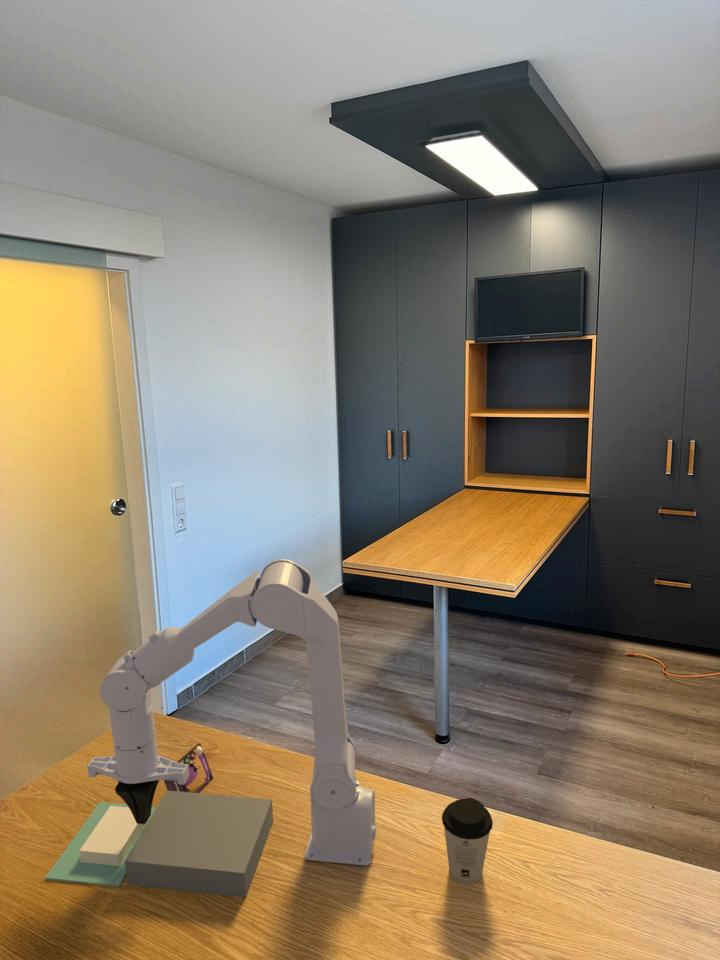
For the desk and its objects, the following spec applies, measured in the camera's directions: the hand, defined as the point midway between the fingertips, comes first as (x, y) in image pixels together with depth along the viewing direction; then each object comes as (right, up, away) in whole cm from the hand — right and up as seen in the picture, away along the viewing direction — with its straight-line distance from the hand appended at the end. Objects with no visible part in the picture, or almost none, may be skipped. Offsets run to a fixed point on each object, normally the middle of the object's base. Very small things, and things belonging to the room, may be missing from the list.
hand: (143, 818), depth 98 cm
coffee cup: (+47, -5, -4) cm, 47 cm away
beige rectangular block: (-5, -2, +1) cm, 6 cm away
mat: (-6, -4, +2) cm, 8 cm away
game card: (+3, -2, +13) cm, 13 cm away
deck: (+9, -5, 0) cm, 10 cm away
